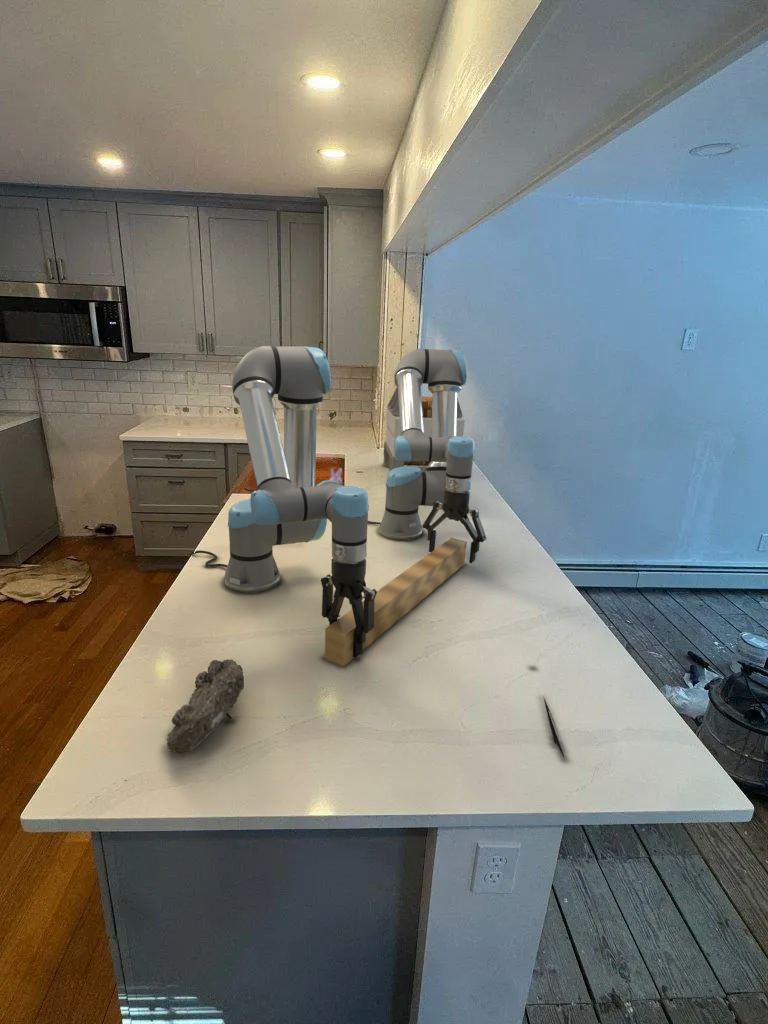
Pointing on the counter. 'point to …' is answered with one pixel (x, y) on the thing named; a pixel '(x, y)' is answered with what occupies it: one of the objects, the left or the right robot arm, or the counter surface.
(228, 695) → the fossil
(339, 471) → the figurine
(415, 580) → the post
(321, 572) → the counter surface
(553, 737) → the feather
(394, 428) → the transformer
